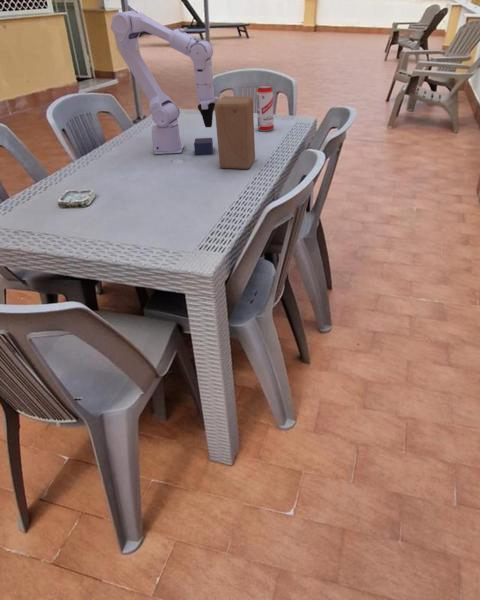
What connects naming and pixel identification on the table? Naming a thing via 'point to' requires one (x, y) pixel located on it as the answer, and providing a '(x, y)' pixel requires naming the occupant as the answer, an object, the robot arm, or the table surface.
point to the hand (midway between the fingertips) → (208, 126)
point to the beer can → (265, 108)
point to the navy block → (203, 146)
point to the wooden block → (235, 132)
